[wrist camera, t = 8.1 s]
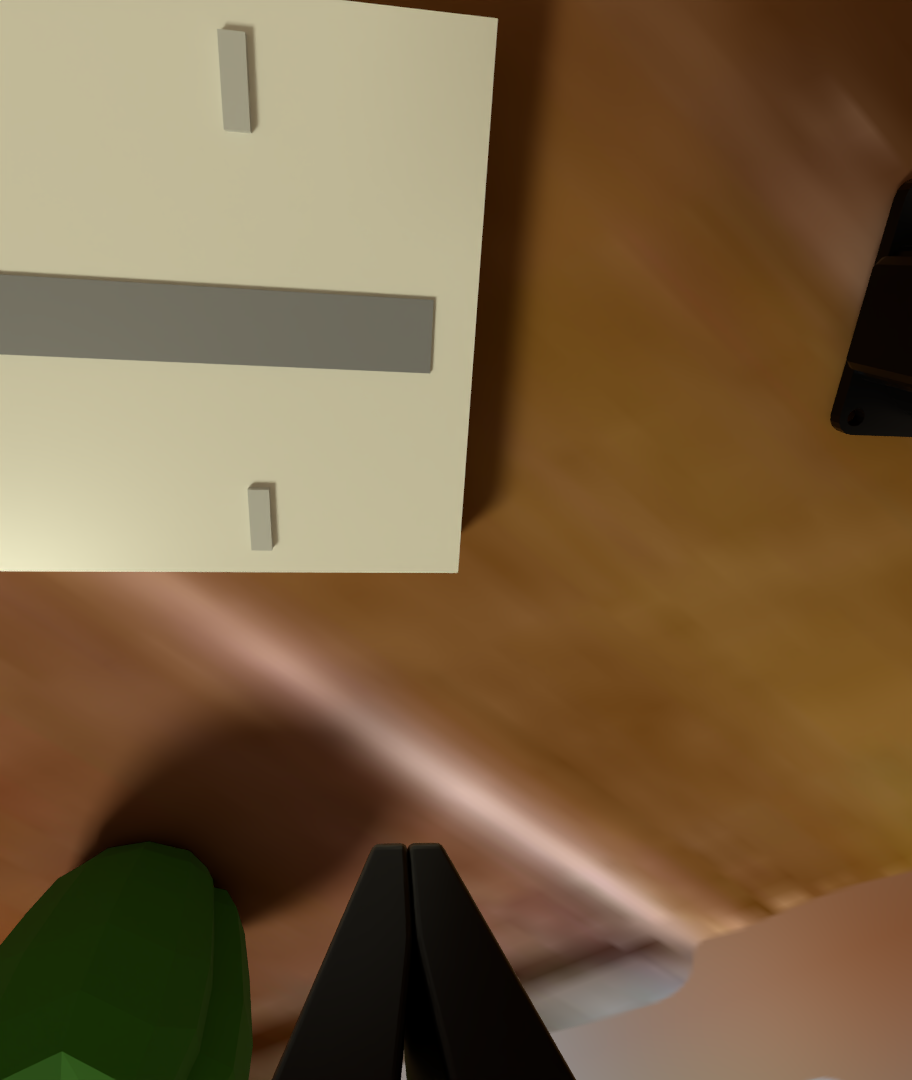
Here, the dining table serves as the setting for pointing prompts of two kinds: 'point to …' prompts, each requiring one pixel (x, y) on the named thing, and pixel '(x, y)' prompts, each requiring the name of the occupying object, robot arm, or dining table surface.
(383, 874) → the robot arm
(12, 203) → the dimmer console
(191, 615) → the dining table surface
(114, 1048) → the bell pepper
